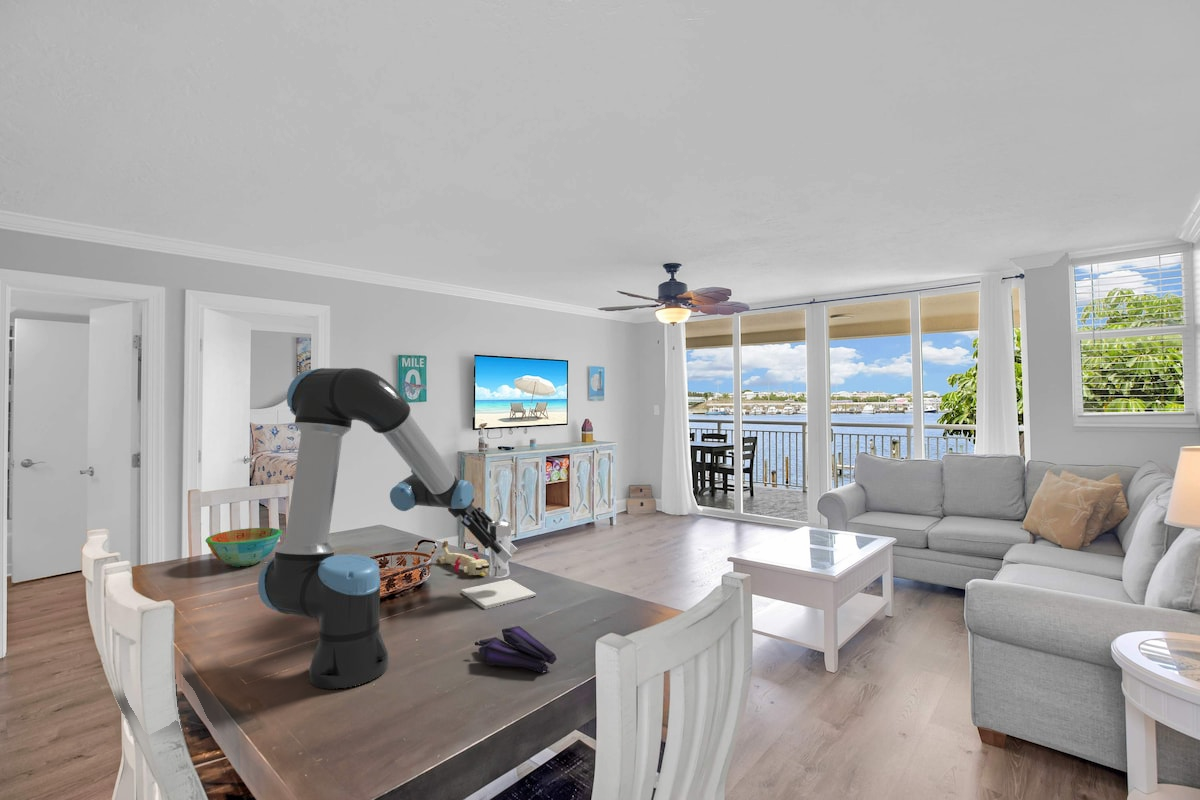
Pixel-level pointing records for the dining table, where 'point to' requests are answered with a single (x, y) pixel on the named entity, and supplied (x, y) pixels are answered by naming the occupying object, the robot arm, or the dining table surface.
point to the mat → (497, 593)
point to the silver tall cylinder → (503, 536)
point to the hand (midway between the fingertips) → (511, 555)
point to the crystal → (516, 650)
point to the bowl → (244, 545)
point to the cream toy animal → (464, 562)
